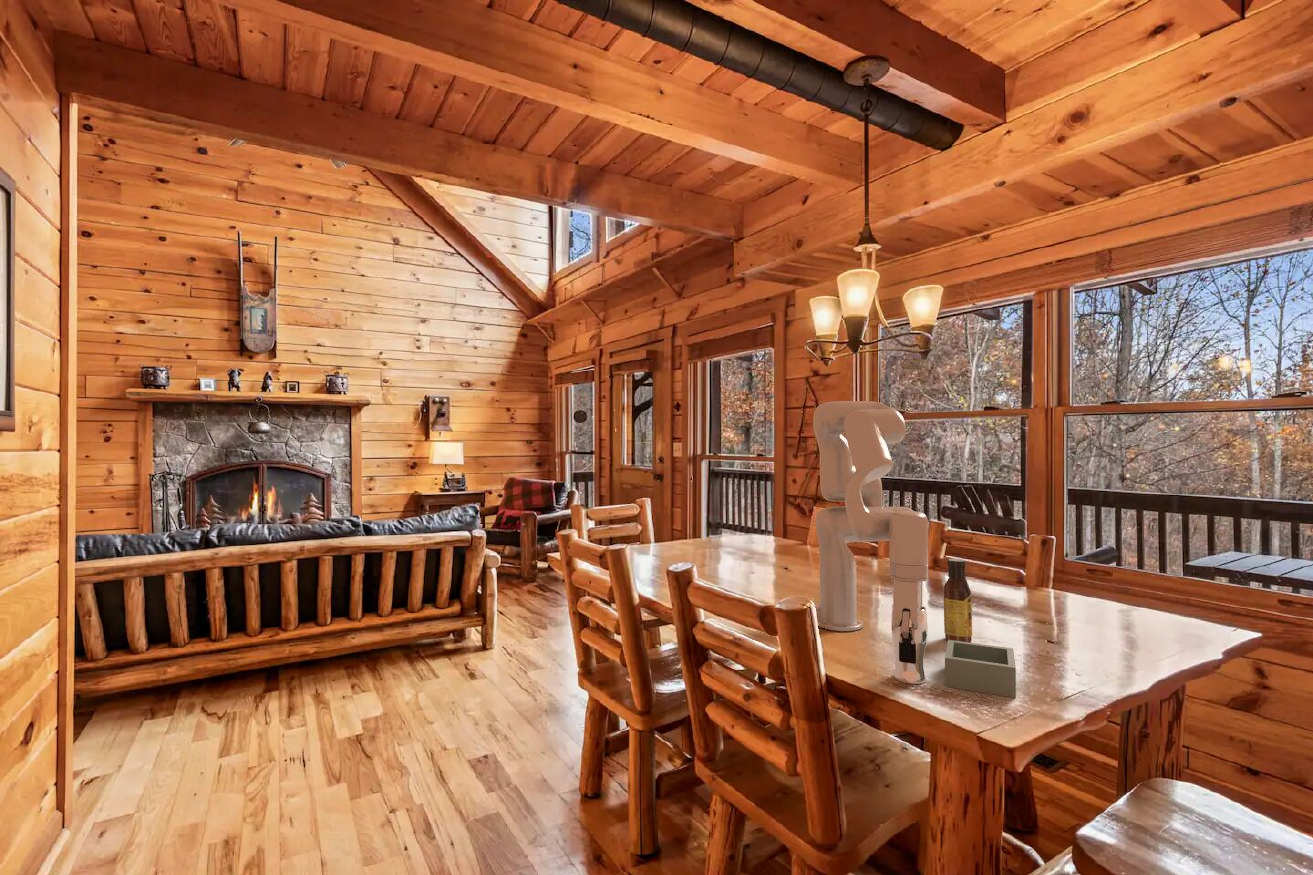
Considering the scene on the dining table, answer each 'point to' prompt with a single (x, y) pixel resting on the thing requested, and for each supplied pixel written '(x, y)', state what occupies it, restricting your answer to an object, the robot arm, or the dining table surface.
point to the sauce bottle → (957, 603)
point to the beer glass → (916, 671)
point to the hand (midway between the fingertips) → (909, 656)
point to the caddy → (980, 668)
